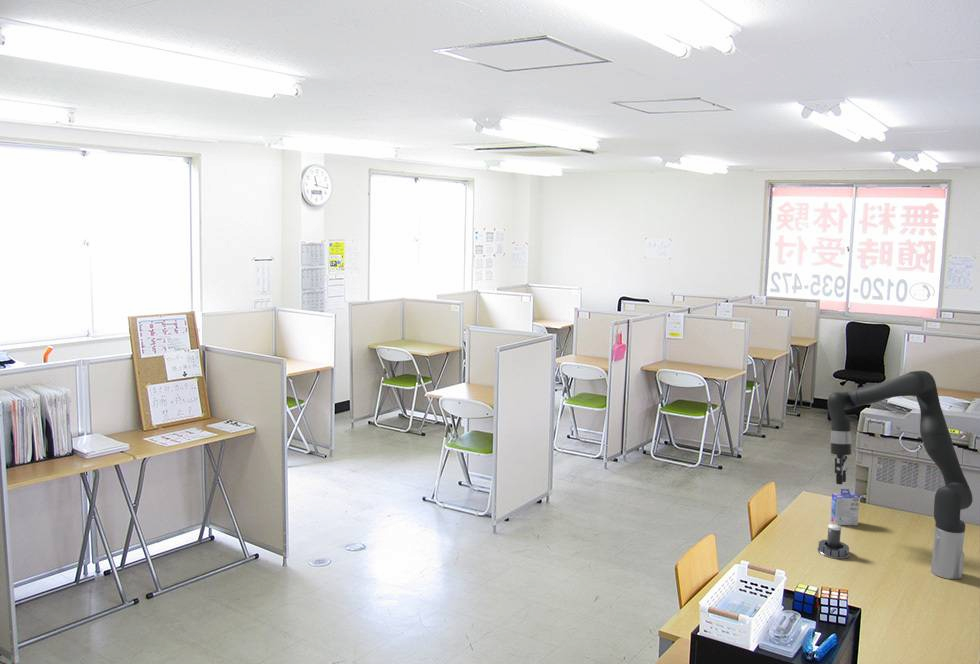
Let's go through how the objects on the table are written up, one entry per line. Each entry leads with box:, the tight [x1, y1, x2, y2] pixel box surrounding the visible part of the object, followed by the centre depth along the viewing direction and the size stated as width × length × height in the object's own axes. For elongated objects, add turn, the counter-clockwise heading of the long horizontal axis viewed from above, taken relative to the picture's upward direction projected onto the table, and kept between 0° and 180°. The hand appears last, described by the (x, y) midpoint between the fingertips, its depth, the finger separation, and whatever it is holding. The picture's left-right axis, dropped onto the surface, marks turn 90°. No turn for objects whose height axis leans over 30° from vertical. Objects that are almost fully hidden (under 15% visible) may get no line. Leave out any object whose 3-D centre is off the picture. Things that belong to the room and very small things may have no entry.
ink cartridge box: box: [830, 488, 861, 526], centre depth 328 cm, size 10×6×14 cm, turn 89°
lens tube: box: [826, 523, 842, 549], centre depth 298 cm, size 5×5×10 cm
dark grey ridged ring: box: [817, 539, 850, 560], centre depth 298 cm, size 11×11×3 cm
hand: (841, 482), depth 311 cm, fingers open, 8 cm apart
